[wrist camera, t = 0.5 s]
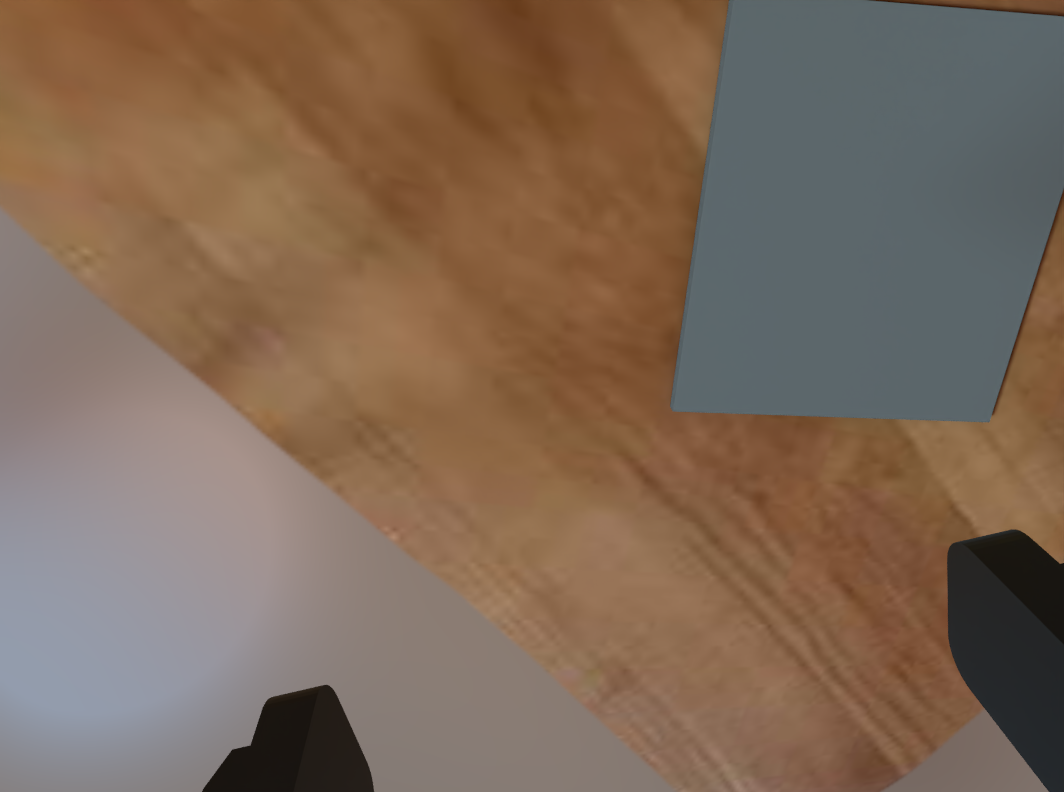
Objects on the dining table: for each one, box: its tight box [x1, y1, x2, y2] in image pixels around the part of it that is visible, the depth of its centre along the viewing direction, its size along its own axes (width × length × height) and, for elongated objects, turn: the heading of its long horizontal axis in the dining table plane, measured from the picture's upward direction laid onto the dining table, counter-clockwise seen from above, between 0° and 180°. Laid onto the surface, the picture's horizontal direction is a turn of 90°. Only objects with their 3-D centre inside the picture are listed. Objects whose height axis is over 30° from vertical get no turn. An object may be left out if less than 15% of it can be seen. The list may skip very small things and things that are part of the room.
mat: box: [670, 0, 1064, 422], centre depth 35 cm, size 18×16×1 cm
